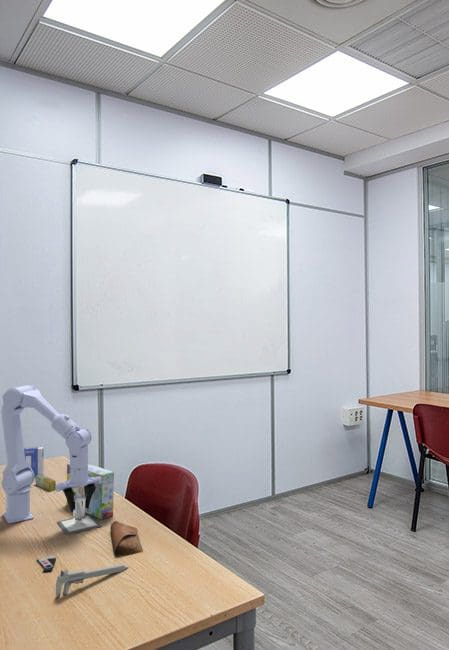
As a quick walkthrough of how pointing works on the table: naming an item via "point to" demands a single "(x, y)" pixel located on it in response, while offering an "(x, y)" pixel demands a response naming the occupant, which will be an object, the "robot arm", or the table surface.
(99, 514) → the snack box
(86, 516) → the mat
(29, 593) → the table surface
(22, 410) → the robot arm
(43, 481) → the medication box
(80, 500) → the milkshake
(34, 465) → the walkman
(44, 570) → the usb flash drive
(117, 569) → the caliper
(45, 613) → the table surface
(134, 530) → the sunglasses case
